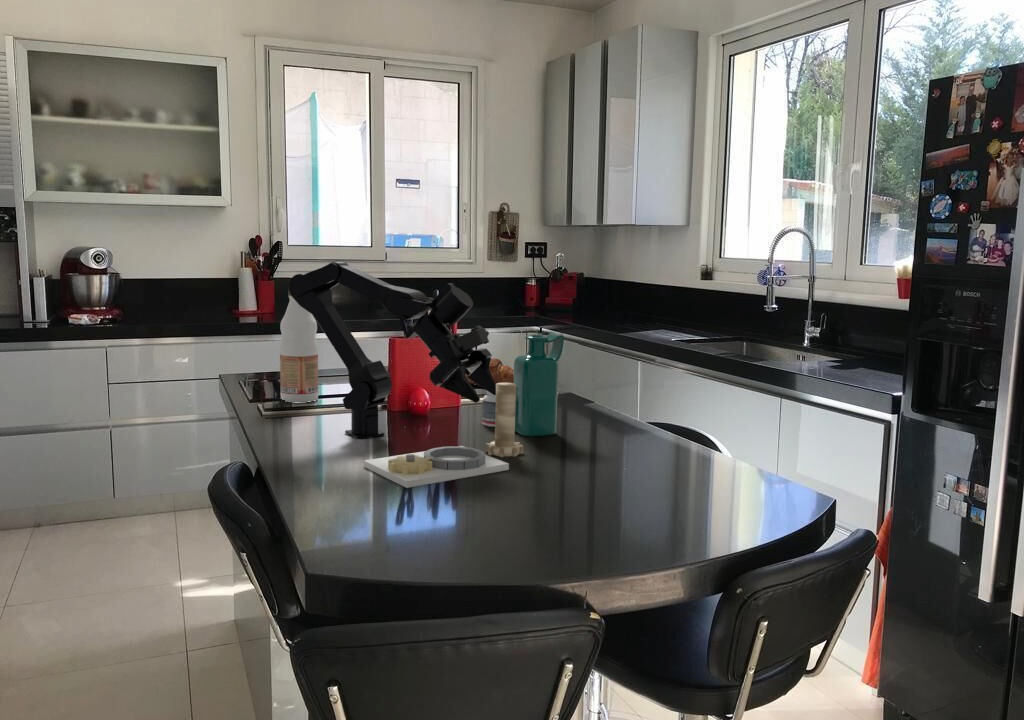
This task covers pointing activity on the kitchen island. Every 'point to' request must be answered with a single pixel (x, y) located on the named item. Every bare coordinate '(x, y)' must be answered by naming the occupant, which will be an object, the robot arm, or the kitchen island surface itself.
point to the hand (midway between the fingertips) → (487, 397)
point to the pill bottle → (489, 409)
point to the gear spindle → (505, 423)
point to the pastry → (498, 372)
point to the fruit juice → (298, 355)
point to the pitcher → (537, 386)
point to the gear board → (436, 472)
